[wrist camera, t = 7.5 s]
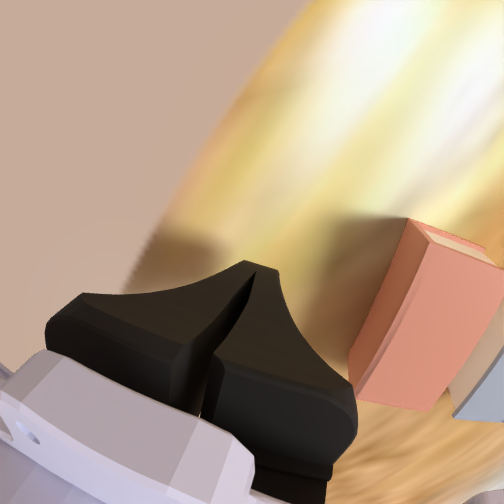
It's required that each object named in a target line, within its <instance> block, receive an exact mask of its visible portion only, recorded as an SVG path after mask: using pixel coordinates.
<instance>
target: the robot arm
mask: <svg viewBox="0 0 504 504" xmlns="http://www.w3.org/2000/svg"><path fill="white" fill-rule="evenodd" d="M45 341H46V348H47V350H45V349H43V350H41V351H39V352H38V353H36V354H34V355H33V356H32V357H31V358H30V359H28V360H27V361H26V362H25V363H24V364H23V365H22V366H21V367H20V368H19V369H18V370H17V371H16V372H15V373H13V372H11V371H10V370H9V369H8V368H6V367H5V366H4V365H3V364H1V363H0V504H326V503H325V497H326V488H327V481H329V480H330V479H331V477H332V472H333V464H334V463H335V462H336V461H337V459H338V458H339V457H340V456H341V455H342V454H343V453H344V452H345V451H346V449H347V448H348V447H349V446H350V445H351V444H352V442H353V440H354V439H355V437H356V435H357V429H358V412H357V405H356V399H355V395H354V390H353V385H352V384H351V383H349V382H348V381H347V380H346V379H344V378H343V377H342V376H341V375H339V374H338V373H337V372H336V371H334V370H333V369H332V368H331V367H330V366H329V365H328V364H327V363H326V362H325V361H324V360H323V359H322V358H321V357H319V356H318V354H317V353H316V352H315V351H314V350H313V349H312V348H311V346H310V345H309V344H308V343H307V341H306V340H305V339H304V337H303V336H302V335H301V333H300V332H299V330H298V328H297V327H296V325H295V323H294V321H293V319H292V317H291V315H290V312H289V310H288V308H287V305H286V302H285V299H284V296H283V293H282V289H281V285H280V279H279V272H278V270H275V269H272V268H269V267H265V266H262V265H259V264H256V263H252V262H249V261H246V260H243V261H241V262H239V263H237V264H235V265H233V266H231V267H229V268H228V269H226V270H224V271H222V272H220V273H217V274H215V275H213V276H211V277H208V278H206V279H203V280H201V281H198V282H195V283H193V284H189V285H186V286H182V287H178V288H174V289H170V290H164V291H157V292H151V293H142V294H124V295H112V294H94V293H82V294H80V295H79V296H77V297H76V298H75V299H74V300H72V301H71V302H70V303H69V304H67V305H66V306H65V307H64V308H62V309H61V310H60V311H59V312H57V313H56V314H55V315H54V316H53V317H51V318H50V320H49V321H48V322H47V324H46V328H45ZM200 412H201V413H200ZM199 414H200V418H199ZM463 504H504V489H500V490H493V491H486V492H482V493H479V494H477V495H475V496H473V497H471V498H470V499H468V500H467V501H466V502H464V503H463Z"/></svg>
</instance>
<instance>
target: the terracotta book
mask: <svg viewBox="0 0 504 504" xmlns="http://www.w3.org/2000/svg"><path fill="white" fill-rule="evenodd" d="M484 251H485V248H484V247H481V246H479V245H477V244H474V243H472V242H469V241H467V240H465V239H462V238H460V237H457V236H455V235H452V234H450V233H447V232H445V231H442V230H439V229H437V228H434V227H432V226H429V225H426V224H424V223H421V222H418V221H416V220H413V219H410V218H408V220H407V223H406V226H405V229H404V231H403V234H402V237H401V239H400V242H399V244H398V247H397V249H396V252H395V254H394V257H393V259H392V262H391V264H390V267H389V269H388V271H387V274H386V276H385V278H384V281H383V283H382V285H381V287H380V290H379V292H378V294H377V296H376V299H375V301H374V303H373V305H372V307H371V309H370V312H369V314H368V316H367V318H366V320H365V322H364V324H363V326H362V328H361V330H360V332H359V334H358V336H357V338H356V340H355V342H354V344H353V346H352V348H351V350H350V352H349V354H348V374H349V383H351V384H352V385H353V390H354V395H355V399H357V400H362V401H367V402H372V403H377V404H382V405H388V406H393V407H399V408H405V409H411V410H418V411H425V412H428V411H429V410H430V408H431V407H432V406H433V405H434V403H435V402H436V401H437V400H438V398H439V397H440V396H441V395H442V393H443V392H444V391H445V389H446V388H447V387H448V385H449V384H450V383H451V381H452V380H453V379H454V377H455V376H456V374H457V373H458V372H459V370H460V369H461V367H462V366H463V365H464V363H465V362H466V360H467V359H468V357H469V356H470V354H471V353H472V351H473V350H474V348H475V346H476V345H477V343H478V342H479V340H480V338H481V337H482V335H483V334H484V332H485V330H486V329H487V327H488V325H489V323H490V322H491V320H492V318H493V316H494V315H495V313H496V311H497V309H498V307H499V305H500V304H501V302H502V300H503V298H504V269H502V268H500V267H497V266H496V265H495V264H494V263H493V262H492V261H491V260H490V259H489V258H488V257H487V256H485V255H484V254H483V253H484Z"/></svg>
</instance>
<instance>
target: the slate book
mask: <svg viewBox="0 0 504 504" xmlns="http://www.w3.org/2000/svg"><path fill="white" fill-rule="evenodd" d="M448 389H449V392H450V395H451V398H452V401H453V405H454V408H455V411H454V412H453V414H452V416H453V419H461V420H472V421H485V422H502V423H504V298H503V300H502V302H501V304H500V305H499V307H498V309H497V311H496V313H495V315H494V316H493V318H492V320H491V322H490V323H489V325H488V327H487V329H486V330H485V332H484V334H483V335H482V337H481V338H480V340H479V342H478V343H477V345H476V346H475V348H474V350H473V351H472V353H471V354H470V356H469V357H468V359H467V360H466V362H465V363H464V365H463V366H462V367H461V369H460V370H459V372H458V373H457V374H456V376H455V377H454V379H453V380H452V381H451V383H450V384H449V385H448Z"/></svg>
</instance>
